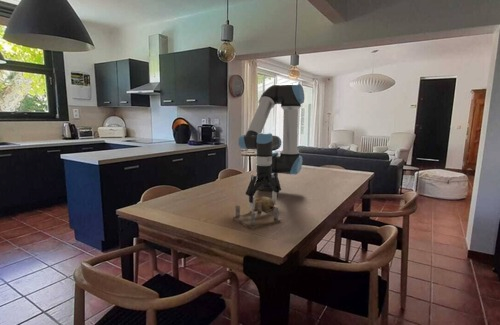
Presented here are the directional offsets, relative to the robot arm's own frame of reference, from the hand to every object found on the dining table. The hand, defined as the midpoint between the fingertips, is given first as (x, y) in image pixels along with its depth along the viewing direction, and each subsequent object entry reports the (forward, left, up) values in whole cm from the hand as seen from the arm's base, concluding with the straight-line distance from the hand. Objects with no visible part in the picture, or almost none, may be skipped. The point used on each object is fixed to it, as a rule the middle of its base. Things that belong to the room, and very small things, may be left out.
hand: (263, 206), depth 141 cm
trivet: (+12, -13, -1) cm, 18 cm away
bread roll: (0, 0, -1) cm, 1 cm away
